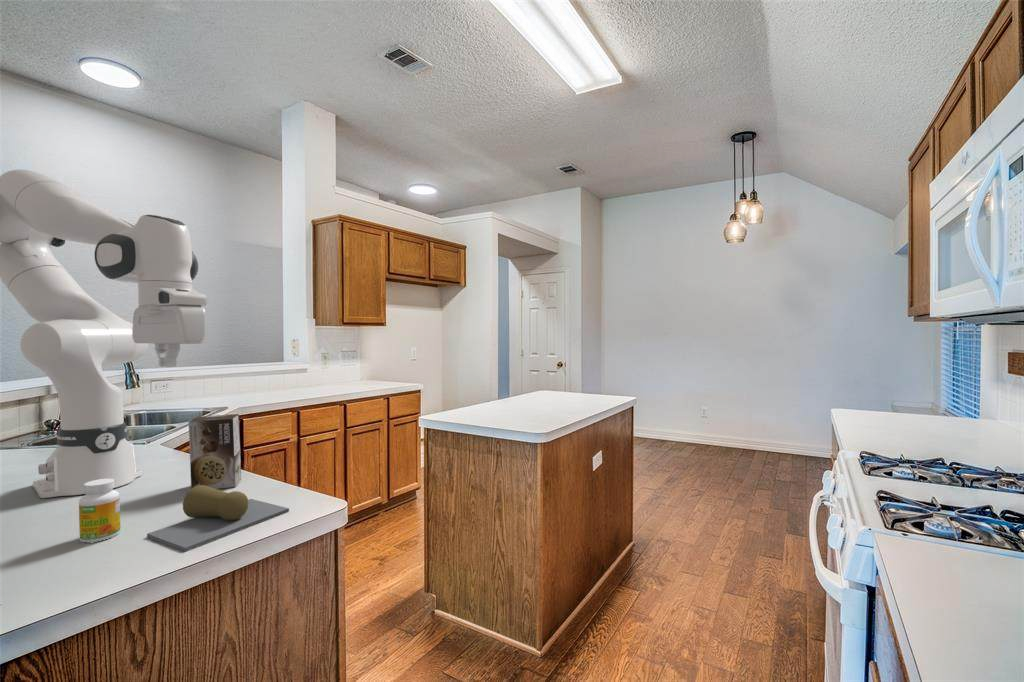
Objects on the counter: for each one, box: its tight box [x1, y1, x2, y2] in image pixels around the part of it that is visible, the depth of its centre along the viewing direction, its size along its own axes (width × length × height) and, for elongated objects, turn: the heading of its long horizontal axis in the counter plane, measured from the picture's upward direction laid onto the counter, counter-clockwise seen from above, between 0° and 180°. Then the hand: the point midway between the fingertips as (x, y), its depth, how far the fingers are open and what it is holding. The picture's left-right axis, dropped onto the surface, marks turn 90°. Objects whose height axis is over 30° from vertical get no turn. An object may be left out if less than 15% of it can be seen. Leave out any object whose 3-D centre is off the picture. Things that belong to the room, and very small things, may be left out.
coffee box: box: [188, 413, 242, 490], centre depth 110 cm, size 9×6×16 cm
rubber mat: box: [146, 498, 290, 552], centre depth 88 cm, size 12×19×1 cm, turn 152°
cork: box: [182, 485, 249, 521], centre depth 89 cm, size 6×6×11 cm
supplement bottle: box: [78, 479, 121, 544], centre depth 82 cm, size 5×5×10 cm
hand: (167, 366), depth 94 cm, fingers closed
